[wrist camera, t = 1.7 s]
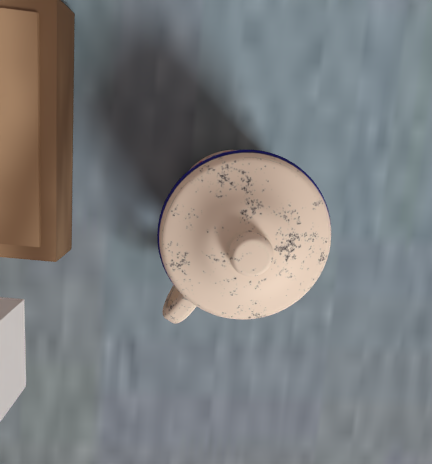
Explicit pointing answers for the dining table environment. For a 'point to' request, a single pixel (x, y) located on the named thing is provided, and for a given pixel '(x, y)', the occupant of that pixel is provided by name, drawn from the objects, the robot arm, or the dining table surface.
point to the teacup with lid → (242, 236)
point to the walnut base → (36, 128)
